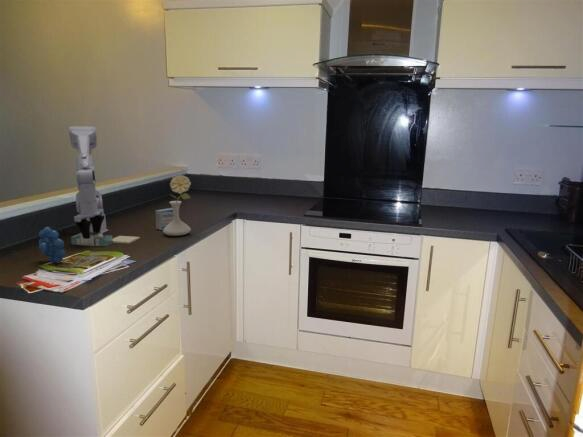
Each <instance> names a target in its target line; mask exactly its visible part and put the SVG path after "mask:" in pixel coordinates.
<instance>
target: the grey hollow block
mask: <svg viewBox="0 0 583 437" xmlns="http://www.w3.org/2000/svg"><path fill="white" fill-rule="evenodd" d="M103 234H104V233H103V232H90V237H89V239H84V238H83V236H82V234H81V235H80V240H81V245H80V246H86V247H95V246H96V243H95V239H98V238H100V237H103V236H104V235H103ZM96 247H97V246H96Z"/></svg>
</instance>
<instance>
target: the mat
mask: <svg viewBox="0 0 583 437" xmlns="http://www.w3.org/2000/svg"><path fill="white" fill-rule="evenodd" d="M140 238H141V237H140V236H132V235H130V236H129V235H127V236H126V235H118V236H115V237H113V243H112V244H115V243H116V244H125V245H126V244H128V245H129V244H131V243H134V242H135V241H137V240H140Z"/></svg>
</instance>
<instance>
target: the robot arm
mask: <svg viewBox="0 0 583 437" xmlns="http://www.w3.org/2000/svg"><path fill="white" fill-rule="evenodd" d="M68 134H69V135H68V136H69V141H70V146H71V147H72V149H75V150H77V152H78V155H76V158H75V159H76V160H75V162H76V170H75V181H76V184H77V190H78V192H77V193H76V194H75V206H76V212H78V214H77V215H75V216H73V218H74V220H73V221H74V224H75V225H76V226H77V228H78V229H79V231H80V232H79V233H78V234H82V236H83V238H84V239H89V237H90V232H103V234H104V233H106V232H109V229H107V221H106V220H107V219H106V215H105V212H104V211H105V210H104V207H103V206H104V205H103V196H102V193H101V191H99V190H98V189H96V185H97V184H96V183H97V177H96V170H95V167H94V166H95V165H94V159H93V158H94V157H93V156H92V151H93V150H94V149H96V148H97V140H98V139H97V128H96V127H95V125H93V126H89V125H88V126H86V125H85V126H81V125H79V126H76V125H75V126H72V125H70V126H69V127H68Z"/></svg>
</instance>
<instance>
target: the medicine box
mask: <svg viewBox="0 0 583 437" xmlns="http://www.w3.org/2000/svg"><path fill="white" fill-rule="evenodd" d="M154 212H155V223H156V224H155V225H156V230H158V229H159V231H161V230H163V229H164V228H165V227H166V226H167V225H168V224H169V223H170V222H171V221H172V220H173V209H172V207H169V208H163V209H156V210H155V211H154Z"/></svg>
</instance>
